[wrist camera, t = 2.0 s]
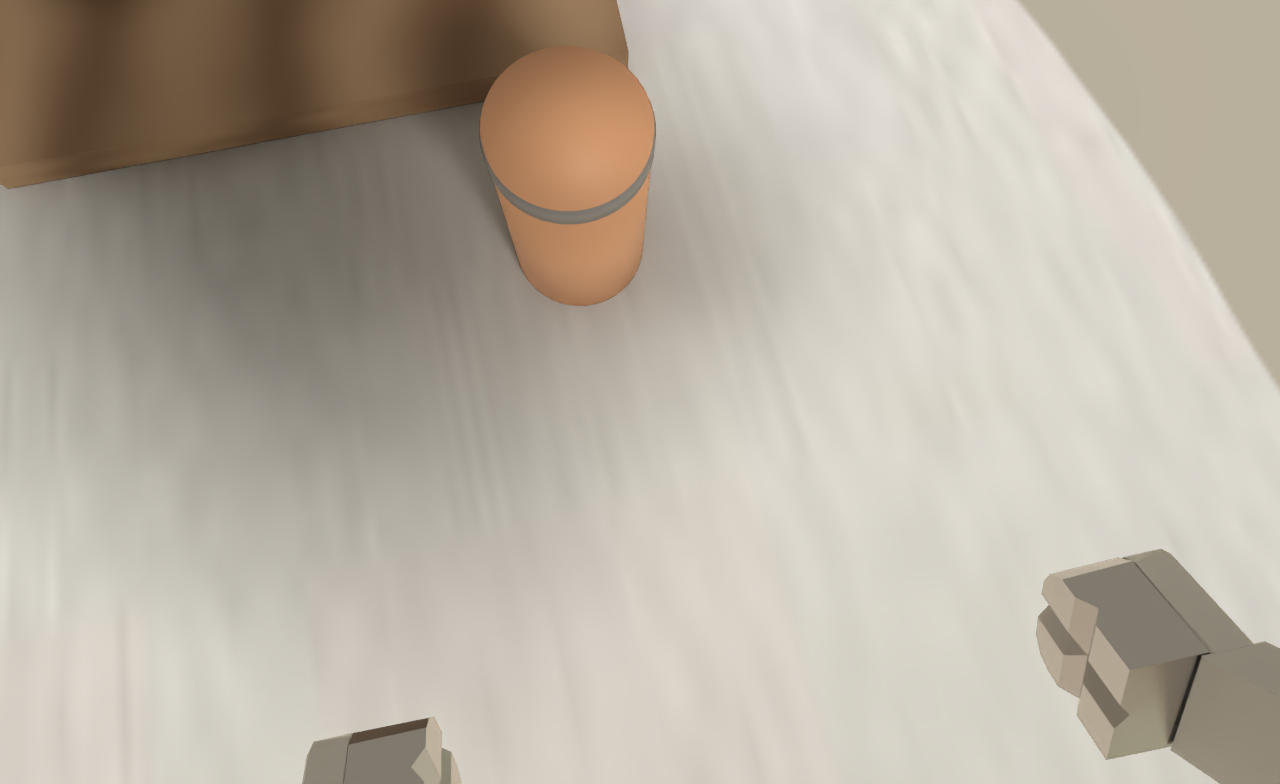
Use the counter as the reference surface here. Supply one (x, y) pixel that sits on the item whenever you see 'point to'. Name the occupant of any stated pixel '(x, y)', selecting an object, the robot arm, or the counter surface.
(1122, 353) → the counter surface
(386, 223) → the counter surface
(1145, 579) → the robot arm
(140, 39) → the carrier board
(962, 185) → the counter surface
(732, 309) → the counter surface
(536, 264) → the hub peg
